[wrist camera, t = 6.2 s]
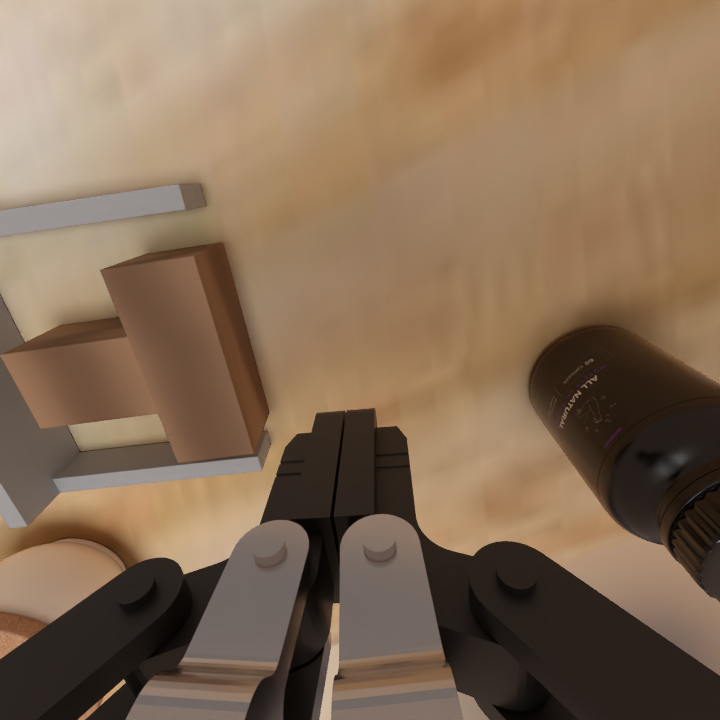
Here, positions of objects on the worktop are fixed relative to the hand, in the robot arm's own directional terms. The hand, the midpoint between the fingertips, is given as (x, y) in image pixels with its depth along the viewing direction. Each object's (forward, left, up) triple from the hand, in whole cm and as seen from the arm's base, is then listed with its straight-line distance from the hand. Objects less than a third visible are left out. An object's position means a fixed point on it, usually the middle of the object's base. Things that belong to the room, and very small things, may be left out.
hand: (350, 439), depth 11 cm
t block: (+11, +1, -12) cm, 16 cm away
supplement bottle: (-13, +6, -12) cm, 19 cm away
